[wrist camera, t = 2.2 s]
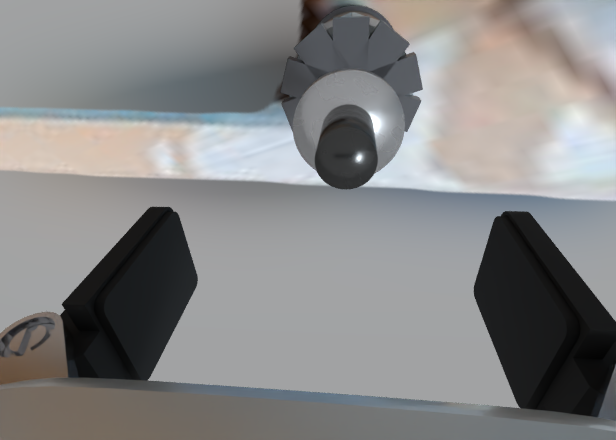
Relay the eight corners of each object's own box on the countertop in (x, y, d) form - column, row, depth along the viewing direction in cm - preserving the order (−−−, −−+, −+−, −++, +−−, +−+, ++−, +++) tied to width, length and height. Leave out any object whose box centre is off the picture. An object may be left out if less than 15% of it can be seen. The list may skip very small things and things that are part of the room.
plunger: (394, 43, 24) (424, 90, 13) (387, 127, 27) (407, 219, 17) (308, 46, 25) (272, 93, 14) (312, 128, 28) (285, 216, 17)
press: (404, 2, 33) (432, 13, 21) (393, 121, 40) (410, 183, 27) (303, 8, 34) (273, 21, 22) (308, 122, 41) (288, 182, 29)
